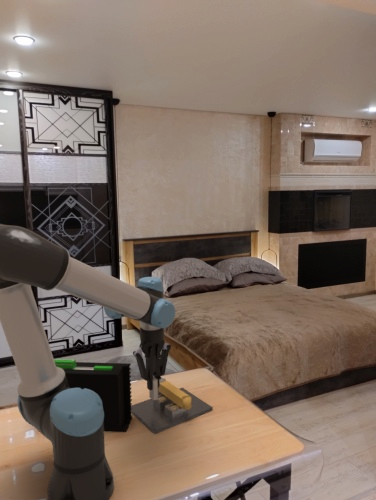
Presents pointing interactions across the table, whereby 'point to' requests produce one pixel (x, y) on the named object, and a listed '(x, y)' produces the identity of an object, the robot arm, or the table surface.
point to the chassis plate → (161, 418)
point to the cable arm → (174, 394)
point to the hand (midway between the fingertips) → (153, 397)
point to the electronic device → (104, 388)
